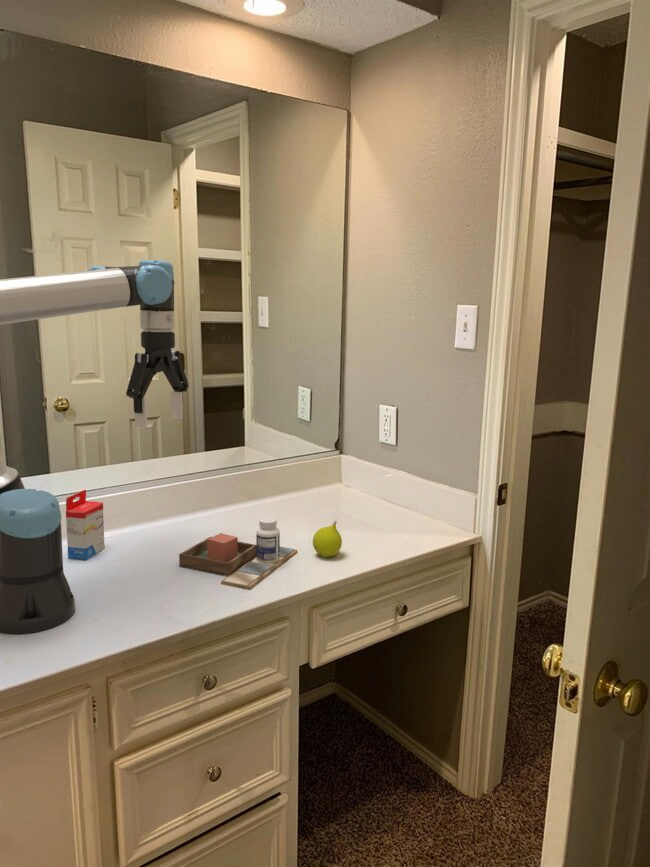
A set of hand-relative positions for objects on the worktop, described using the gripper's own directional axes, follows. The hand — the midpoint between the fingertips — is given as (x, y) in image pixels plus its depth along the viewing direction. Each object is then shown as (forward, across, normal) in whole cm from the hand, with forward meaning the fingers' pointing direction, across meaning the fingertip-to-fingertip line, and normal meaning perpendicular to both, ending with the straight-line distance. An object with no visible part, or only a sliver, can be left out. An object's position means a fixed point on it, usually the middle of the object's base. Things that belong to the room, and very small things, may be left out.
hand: (159, 422), depth 153 cm
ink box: (+32, -9, +15) cm, 36 cm away
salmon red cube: (+29, -1, -16) cm, 33 cm away
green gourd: (+32, +15, -37) cm, 51 cm away
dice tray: (+32, 0, -16) cm, 35 cm away
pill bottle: (+31, +5, -26) cm, 41 cm away
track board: (+32, +2, -26) cm, 41 cm away
